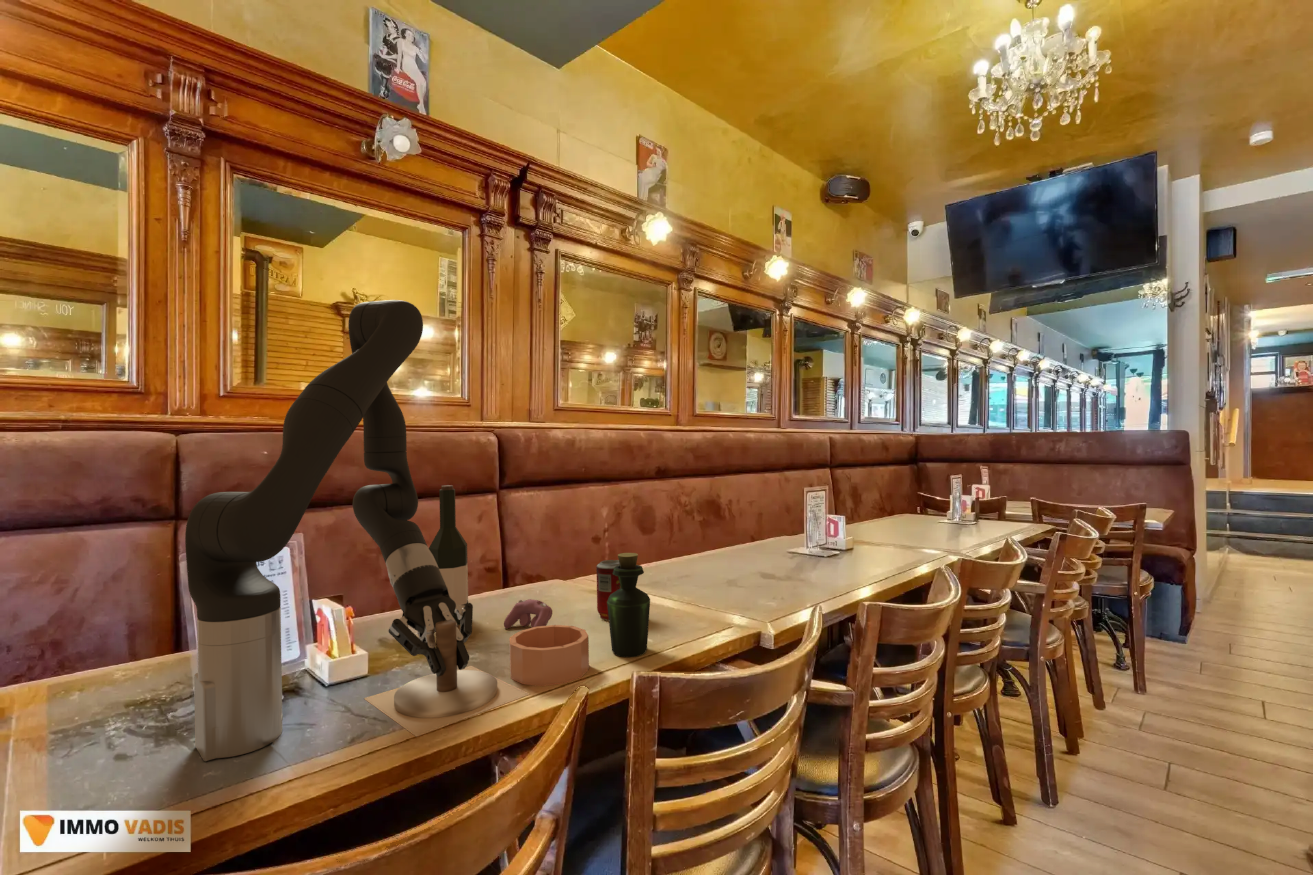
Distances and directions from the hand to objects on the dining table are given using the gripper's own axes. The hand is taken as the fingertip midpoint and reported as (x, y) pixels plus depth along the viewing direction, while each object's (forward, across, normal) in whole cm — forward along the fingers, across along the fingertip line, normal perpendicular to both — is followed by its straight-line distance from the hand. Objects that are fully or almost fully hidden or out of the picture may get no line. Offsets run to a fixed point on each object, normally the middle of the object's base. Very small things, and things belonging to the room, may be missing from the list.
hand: (453, 669), depth 92 cm
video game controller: (-12, +29, +20) cm, 37 cm away
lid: (+2, 0, +5) cm, 5 cm away
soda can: (-7, +46, +14) cm, 49 cm away
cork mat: (+2, 0, +5) cm, 5 cm away
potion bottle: (+7, +33, +1) cm, 34 cm away
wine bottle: (-25, +20, +32) cm, 45 cm away
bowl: (+4, +17, +3) cm, 18 cm away
